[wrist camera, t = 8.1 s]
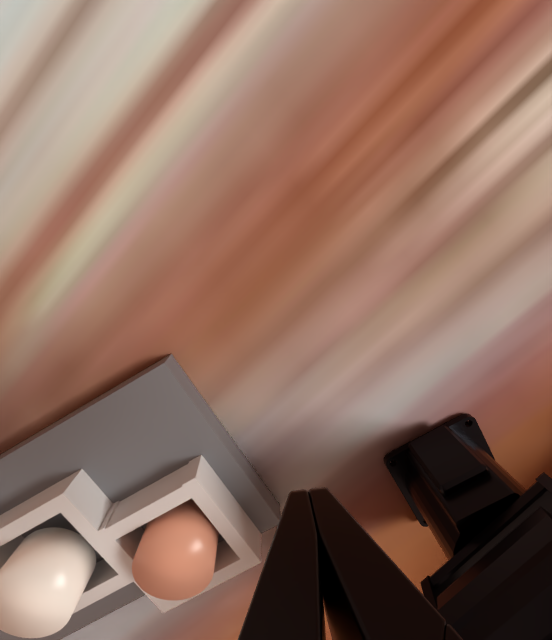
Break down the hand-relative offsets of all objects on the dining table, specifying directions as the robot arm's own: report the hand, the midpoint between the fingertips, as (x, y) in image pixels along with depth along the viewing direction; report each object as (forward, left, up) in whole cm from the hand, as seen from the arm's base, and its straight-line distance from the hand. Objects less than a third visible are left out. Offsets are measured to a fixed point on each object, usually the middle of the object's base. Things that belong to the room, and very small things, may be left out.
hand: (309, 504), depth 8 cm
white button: (-4, +17, -10) cm, 20 cm away
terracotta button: (-7, +11, -11) cm, 17 cm away
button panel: (-4, +17, -13) cm, 22 cm away
